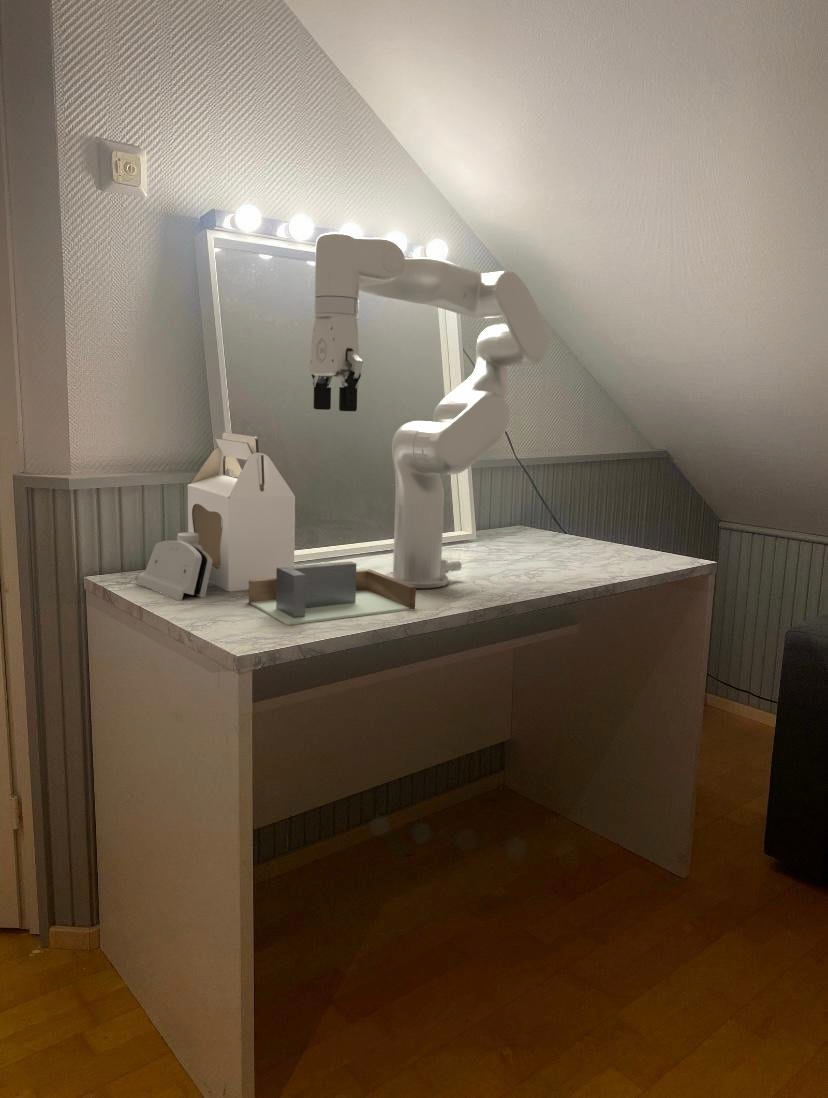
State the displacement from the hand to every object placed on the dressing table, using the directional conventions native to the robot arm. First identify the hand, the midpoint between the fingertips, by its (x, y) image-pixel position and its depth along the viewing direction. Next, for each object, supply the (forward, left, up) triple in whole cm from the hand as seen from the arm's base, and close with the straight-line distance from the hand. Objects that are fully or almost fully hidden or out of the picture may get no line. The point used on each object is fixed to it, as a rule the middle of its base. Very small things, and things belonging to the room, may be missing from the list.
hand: (334, 410), depth 148 cm
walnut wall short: (-7, +9, -33) cm, 35 cm away
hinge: (+24, -15, -34) cm, 44 cm away
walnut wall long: (+4, +1, -33) cm, 34 cm away
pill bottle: (+19, -22, -34) cm, 45 cm away
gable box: (+10, -20, -34) cm, 40 cm away
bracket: (+7, +11, -33) cm, 35 cm away
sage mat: (+5, +9, -33) cm, 35 cm away
